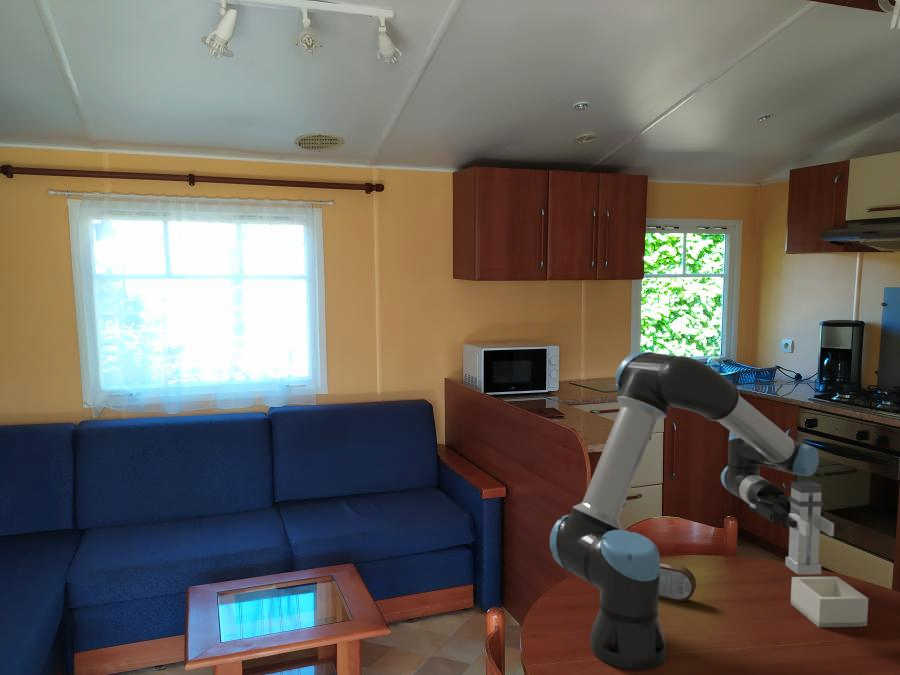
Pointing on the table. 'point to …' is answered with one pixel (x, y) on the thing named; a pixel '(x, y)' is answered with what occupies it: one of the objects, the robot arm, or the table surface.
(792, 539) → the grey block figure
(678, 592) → the tin
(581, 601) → the table surface
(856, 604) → the open box
